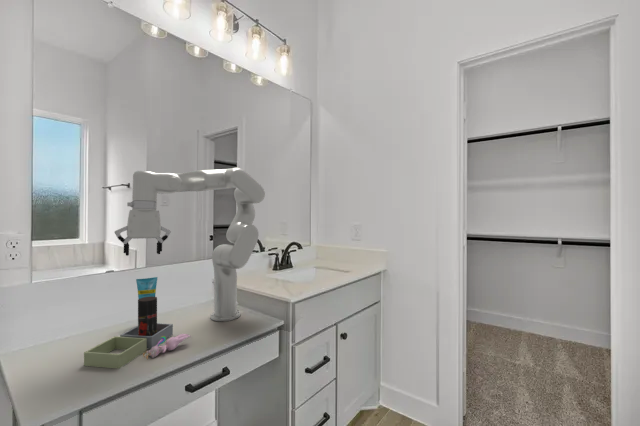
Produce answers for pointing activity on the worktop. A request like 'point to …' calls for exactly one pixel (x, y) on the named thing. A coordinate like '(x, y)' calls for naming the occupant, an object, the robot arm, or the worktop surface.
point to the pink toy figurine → (166, 345)
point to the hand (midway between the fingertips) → (143, 254)
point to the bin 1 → (103, 358)
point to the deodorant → (147, 316)
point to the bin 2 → (153, 340)
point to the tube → (146, 287)
